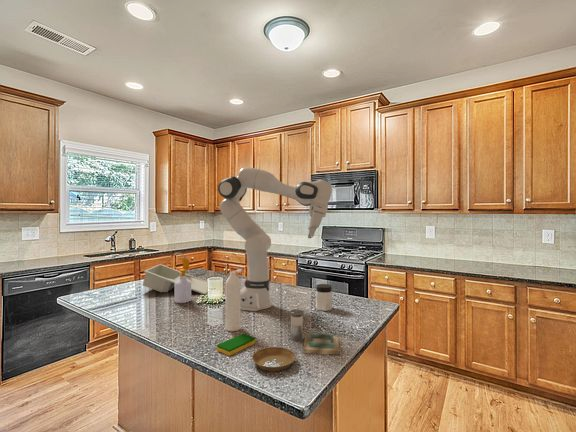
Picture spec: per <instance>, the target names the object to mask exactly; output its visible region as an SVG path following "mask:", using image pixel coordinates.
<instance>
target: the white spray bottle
mask: <svg viewBox="0 0 576 432" xmlns="http://www.w3.org/2000/svg"><path fill="white" fill-rule="evenodd" d="M242 272H243V269H240V268H239V269H236V270H235V271H234V270H233V271H230V273H229V274H230V275H229V276H228V278H227V279H226V281H225V285H224V286H225V306H224V307H225V320H224V321H225V324H224V325H225V327H224V328H225V330H226V331H228V332H235V331H239V330H240V329H241V309H240V308H241V306H240V304H241V301H240V290H241V280H240V279H239V277H238V276H237V273H239V274H240V273H242Z"/></svg>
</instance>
